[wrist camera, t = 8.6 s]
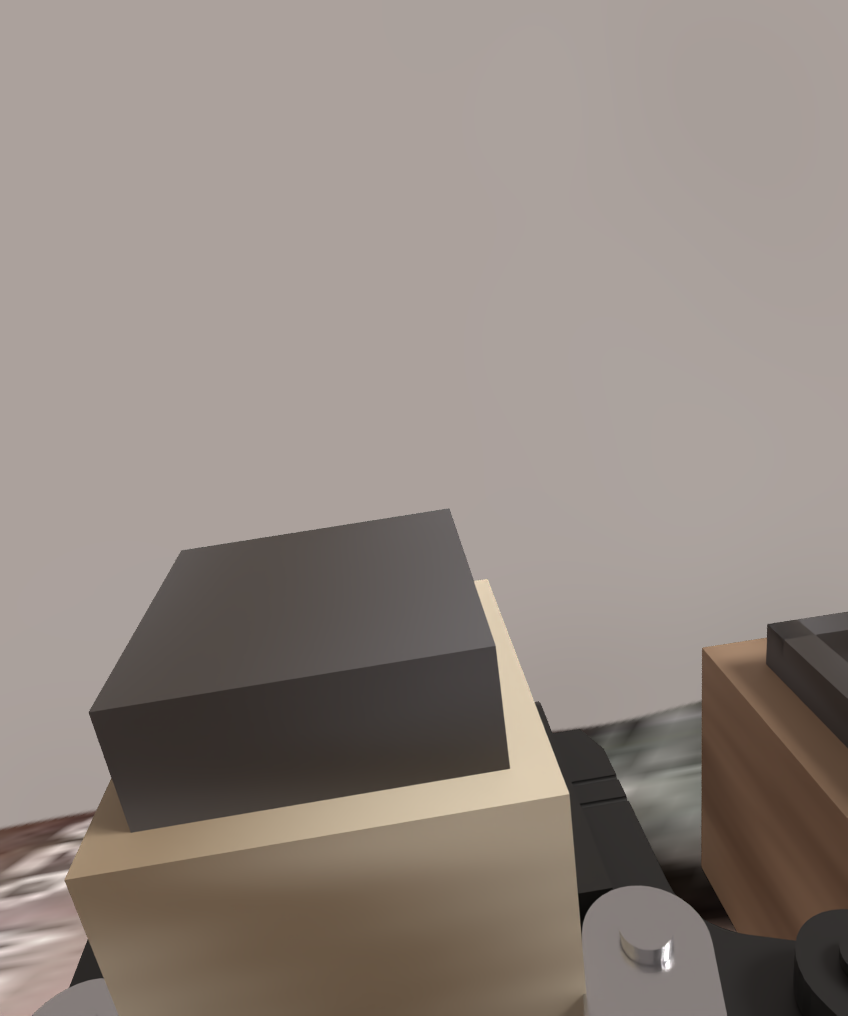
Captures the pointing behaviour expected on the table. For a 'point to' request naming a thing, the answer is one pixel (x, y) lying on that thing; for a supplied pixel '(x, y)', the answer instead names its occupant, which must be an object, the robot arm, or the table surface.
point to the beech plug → (329, 792)
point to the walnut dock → (777, 775)
